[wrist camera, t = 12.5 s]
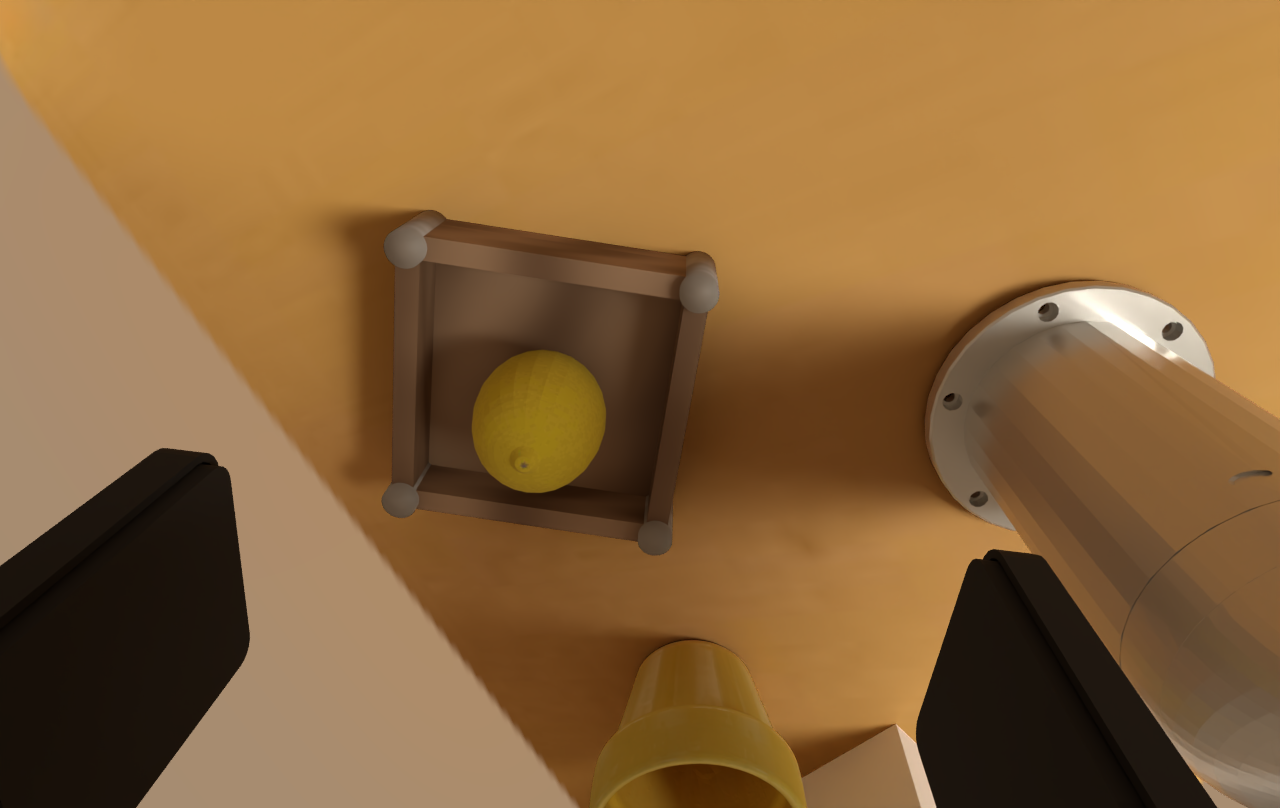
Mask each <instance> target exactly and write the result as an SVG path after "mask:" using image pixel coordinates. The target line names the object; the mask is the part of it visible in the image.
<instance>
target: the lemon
mask: <svg viewBox="0 0 1280 808" xmlns="http://www.w3.org/2000/svg"><path fill="white" fill-rule="evenodd" d="M605 424H606V407H605V403H604V398H603V394H602V391H601V389H600V387H599V385H598V383H597V381H596V379H595V377H594V376H593V375H592V374H591V373H590V372H589V370H588V369H587V368H586V367H585V366H584V365H583V364H581V363H580V362H578V361H577V360H575V359H574V358H572V357H571V356H568V355H566V354H563V353H560V352H557V351H549V350H535V351H527V352H524V353H521V354H519V355H516V356H513V357H511V358H510V359H508V360H507V361H506V362H504V363H503V364H501V365H500V366H498V367H497V368H496V369H495V370H494V371H493V373H492V374H491V375H490V376H489V377H488V379H487V380H486V381H485V382H484V384H483V385H482V387H481V390H480V392H479V395H478V397H477V399H476V402H475V405H474V410H473V419H472V435H473V441H474V447H475V450H476V452H477V455H478V457H479V459H480V461H481V463H482V465H483V466H484V467H485V468H486V470H487V471H488V472H489V473H490V475H492V476H493V477H494V478H495V479H497V480H498V481H499V482H501V483H502V484H504V485H506V486H508V487H510V488H512V489H514V490H518V491H523V492H529V493H543V492H548V491H553V490H556V489H558V488H560V487H563V486H565V485H567V484H569V483H570V482H572V481H573V480H574V479H575V478H577V477H578V476H579V475H580V474H581V473H583V472H584V471H585V469H586V468H587V467H588V465H589V464H590V463H591V461H592V460H593V458H594V457H595V455H596V454H597V452H598V450H599V447H600V444H601V441H602V439H603V436H604V432H605Z"/></svg>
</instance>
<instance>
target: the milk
mask: <svg viewBox="0 0 1280 808" xmlns="http://www.w3.org/2000/svg"><path fill="white" fill-rule="evenodd" d="M801 779H802V783H803V788H804V793H805V799H806V804H807V808H936V805H935V801H934V798H933V795H932V792H931V789H930V786H929V783H928V780H927V777H926V773H925V770H924V767H923V764H922V761H921V758H920V755H919V752H918V747H917V744H916V743H915V742H914V741H913V740H912V739H911V738H910V737H909V736H908V735H907V734H906V733H905V732H904V731H903V730H902V729H901V728H900V727H899V726H898V725H897V724H895V725H893V726H891V727H890V728H888V729H886V730H884V731H883V732H881V733H879V734H877V735H876V736H874V737H872V738H870V739H869V740H867V741H865V742H863V743H862V744H860V745H858V746H857V747H855V748H853V749H851V750H850V751H848V752H846V753H844V754H843V755H841V756H839V757H837V758H836V759H834V760H832V761H830V762H829V763H827V764H825V765H824V766H822V767H820V768H818V769H817V770H815V771H813V772H811V773H810V774H808V775H806V776H804V777H803V778H801Z"/></svg>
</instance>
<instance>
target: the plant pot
mask: <svg viewBox="0 0 1280 808" xmlns="http://www.w3.org/2000/svg"><path fill="white" fill-rule="evenodd" d="M589 808H807V804H806V799H805V793H804V788H803V783H802V779H801V774H800V770H799V767H798V763H797V760H796V758H795V756H794V754H793V752H792V750H791V749H790V747H789V745H788V744H787V743H786V741H785V740H784V739H783V738H782V737H781V736H780V735H779V734H778V733H777V732H776V731H775V730H774V729H773V727H772V725H771V722H770V720H769V718H768V715H767V713H766V711H765V708H764V706H763V704H762V701H761V699H760V697H759V694H758V692H757V689H756V687H755V684H754V682H753V679H752V677H751V675H750V673H749V671H748V669H747V667H746V665H745V664H744V663H743V662H742V660H741V659H740V658H739V657H738V656H736V655H735V654H734V653H733V652H731V651H729V650H728V649H726V648H724V647H722V646H720V645H717V644H715V643H711V642H707V641H700V640H686V641H678V642H674V643H671V644H668V645H665V646H663V647H661V648H659V649H657V650H656V651H654V652H653V653H652V654H650V655H649V656H648V657H647V658H646V659H645V660H644V662H643V663H642V665H641V666H640V668H639V670H638V673H637V676H636V679H635V682H634V684H633V688H632V691H631V694H630V697H629V699H628V702H627V705H626V708H625V711H624V714H623V717H622V720H621V723H620V725H619V728H618V731H617V732H616V733H615V734H614V735H613V736H612V737H611V738H610V739H609V741H608V742H607V743H606V745H605V746H604V748H603V749H602V751H601V753H600V755H599V758H598V760H597V763H596V767H595V771H594V776H593V782H592V788H591V795H590V803H589Z"/></svg>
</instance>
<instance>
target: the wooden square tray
mask: <svg viewBox="0 0 1280 808" xmlns="http://www.w3.org/2000/svg"><path fill="white" fill-rule="evenodd" d="M384 252H385V254H386V257H387V258H388V260H389V261H390V262H391V263H392V264H394V265H395V301H394V369H393V437H392V482H391V484H390V485H389V487H388V488H387V490H386V491H385V493H384V494H383V496H382V505H383V508H384V509H385V511H386V512H387V513H389V514H390V515H392V516H394V517H398V518H405V517H408V516H410V515H412V514H413V512H414V511H415V509H422V510H428V511H435V512H442V513H449V514H455V515H462V516H469V517H476V518H482V519H489V520H496V521H503V522H509V523H516V524H523V525H530V526H536V527H543V528H550V529H557V530H563V531H570V532H577V533H583V534H590V535H597V536H604V537H610V538H617V539H624V540H631V541H637V542H638V545H639V547H640V549H641V550H642V551H643V552H645V553H647V554H649V555H661V554H664V553H666V552H667V551H668V550H669V549H670V547H671V545H672V522H673V495H674V490H675V484H676V479H677V474H678V468H679V463H680V457H681V452H682V447H683V441H684V436H685V431H686V425H687V420H688V415H689V409H690V404H691V398H692V393H693V388H694V382H695V377H696V372H697V366H698V361H699V356H700V350H701V345H702V339H703V334H704V329H705V323H706V318H707V313H708V311H710V310H711V309H712V308H714V306H715V305H716V304H717V302H718V299H719V287H718V281H717V274H716V267H715V263H714V260H713V259H712V258H711V257H710V256H709V255H708V254H706V253H704V252H700V251H696V252H692V253H689V254H688V255H686V256H682V255H676V254H669V253H663V252H656V251H650V250H643V249H637V248H630V247H624V246H617V245H611V244H604V243H598V242H591V241H585V240H578V239H572V238H565V237H559V236H552V235H546V234H539V233H533V232H526V231H520V230H513V229H506V228H500V227H493V226H487V225H480V224H474V223H467V222H461V221H454V220H448V219H446V218H445V217H444V216H443V215H442V214H441V213H439V212H437V211H433V210H427V211H424V212H422V213H420V214H419V215H417V216H415V217H414V218H412V219H411V220H409V221H408V222H406V223H405V224H403V225H401V226H400V227H398V228H397V229H395V230H394V231H392V232H391V233H389V234H388V235H387V237H386V239H385V241H384ZM535 350H549V351H557V352H560V353H563V354H566V355H568V356H571V357H572V358H574V359H575V360H577V361H578V362H580V363H581V364H583V365H584V366H585V367H586V368H587V369H588V370H589V372H590V373H591V374H592V375H593V376H594V377H595V379H596V381H597V383H598V385H599V387H600V389H601V391H602V394H603V398H604V403H605V407H606V424H605V432H604V436H603V439H602V441H601V444H600V447H599V450H598V452H597V454H596V455H595V457H594V458H593V460H592V461H591V463H590V464H589V465H588V467H587V468H586V469H585V471H584V472H583V473H581V474H580V475H579V476H578V477H577V478H575V479H574V480H573V481H572V482H570V483H569V484H567V485H565V486H563V487H560V488H558V489H556V490H553V491H548V492H543V493H529V492H523V491H518V490H514V489H512V488H510V487H508V486H506V485H504V484H502V483H501V482H499V481H498V480H497V479H495V478H494V477H493V476H492V475H490V473H489V472H488V471H487V470H486V468H485V467H484V466H483V465H482V463H481V461H480V459H479V457H478V455H477V452H476V450H475V447H474V441H473V435H472V419H473V410H474V405H475V402H476V399H477V397H478V395H479V392H480V390H481V387H482V385H483V384H484V382H485V381H486V380H487V379H488V377H489V376H490V375H491V374H492V373H493V371H494V370H495V369H496V368H497V367H498V366H500V365H501V364H503V363H504V362H506V361H507V360H508V359H510V358H511V357H513V356H516V355H519V354H521V353H524V352H527V351H535Z"/></svg>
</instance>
